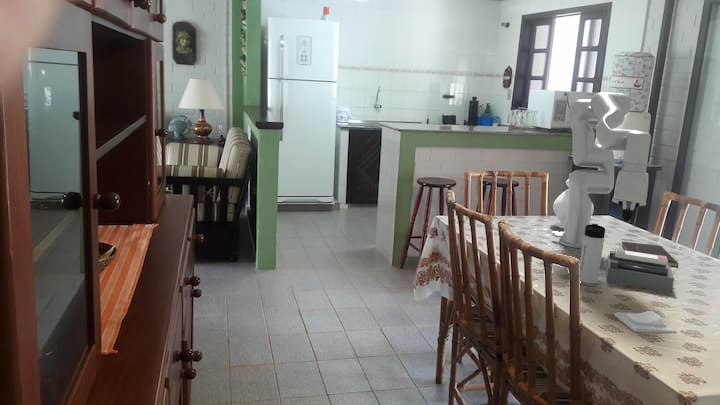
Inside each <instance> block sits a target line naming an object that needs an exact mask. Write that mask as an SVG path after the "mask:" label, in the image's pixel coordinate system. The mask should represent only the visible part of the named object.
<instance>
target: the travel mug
mask: <svg viewBox="0 0 720 405" xmlns="http://www.w3.org/2000/svg"><path fill="white" fill-rule="evenodd" d="M605 234H606V228H605V227H604V226H602V225H599V224H598V223H591V224H590V225H586V227H585V234H584V240H583V246H582V248H581V253H580V262H579V267H580V281H581V284H580V285H582V286H586V287H596V286H597V285H598V280H599V275H600V267H601V261H602V255H603V249H604V242H605Z"/></svg>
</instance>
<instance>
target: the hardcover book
mask: <svg viewBox="0 0 720 405" xmlns="http://www.w3.org/2000/svg"><path fill="white" fill-rule="evenodd" d="M621 243H622V244H621V245H622V248H623V250H625V251H632V252H638V253H645V254H652V255H661V256H666V257H667V260H668V262H667V265H669V266H670V267H677V268H678V267H679V262H677V260H676V259H675V258H674V257H673V256H672V255H671V253H669V252H668V251H667V250H666V249H665V248H664V247H663V245H657V244H648V243H641V242H639V243H638V242H630V241H621Z"/></svg>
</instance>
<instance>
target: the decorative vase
mask: <svg viewBox="0 0 720 405" xmlns="http://www.w3.org/2000/svg"><path fill="white" fill-rule="evenodd" d="M571 173H572V172H570V173H568V174H569V175H568V177H569V176H570V174H571ZM565 185H566V186H567V187H568V188H567V189H565V190H564V191H563V192H561V194H559V195H558V196H557V198H556V199H555V200H554V202H553V206H552V209H553V212H554V214H555V216H556V217H557V219H558V220H559V222H557V223H556V227H558V228H560V229H563V230H564V229H565V222H566V215H567V207H568V199H569V178H568V179H567V180H566V181H565ZM594 210H595V209H594V203H592V213H591V217H592V216H593V215H594Z"/></svg>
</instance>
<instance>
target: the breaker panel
mask: <svg viewBox="0 0 720 405" xmlns="http://www.w3.org/2000/svg"><path fill="white" fill-rule="evenodd" d="M674 280H675V277H674V274H673V272H672V269H671V266H669V265H663V264H656V263H650V262H643V261H637V260H630V259H624V258H617V257H615V250H610V251H609V255H607V259H606V265H605V283H611V284H612V283H613V284H618V285H623V286H628V287H629V286H630V287H634V286H635V287H636V288H640V289H641V288H642V289H648V290H653V291H659V292H664V293H665V292H666V293H671V294H672V292H673V287H674V282H675V281H674Z"/></svg>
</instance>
